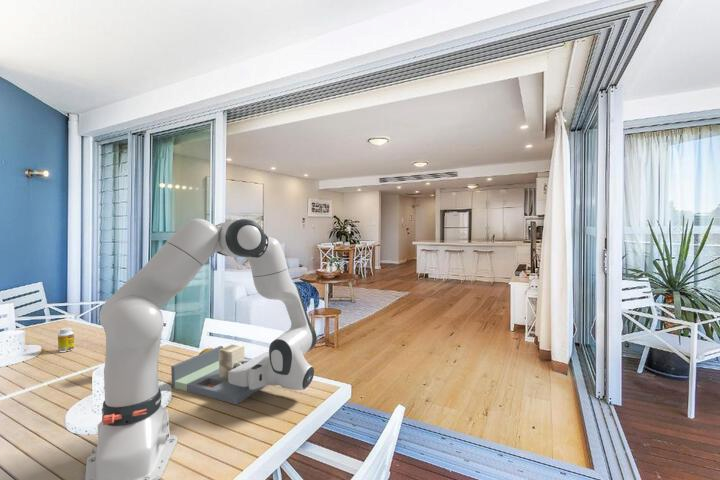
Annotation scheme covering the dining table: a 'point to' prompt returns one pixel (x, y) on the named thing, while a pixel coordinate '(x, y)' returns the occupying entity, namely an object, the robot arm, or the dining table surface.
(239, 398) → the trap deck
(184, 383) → the pad
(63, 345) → the supplement bottle
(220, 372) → the birch block
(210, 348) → the bread roll
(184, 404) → the dining table surface
